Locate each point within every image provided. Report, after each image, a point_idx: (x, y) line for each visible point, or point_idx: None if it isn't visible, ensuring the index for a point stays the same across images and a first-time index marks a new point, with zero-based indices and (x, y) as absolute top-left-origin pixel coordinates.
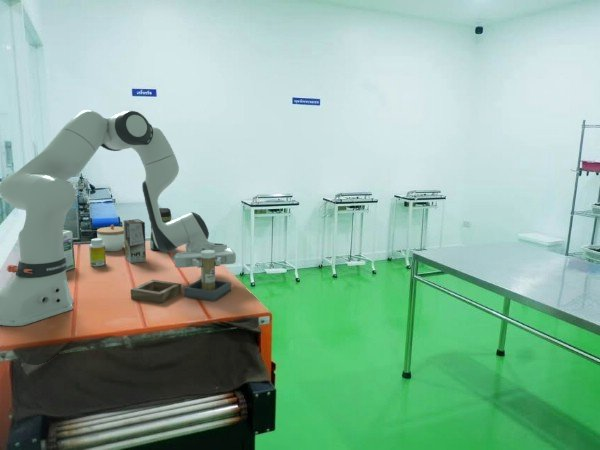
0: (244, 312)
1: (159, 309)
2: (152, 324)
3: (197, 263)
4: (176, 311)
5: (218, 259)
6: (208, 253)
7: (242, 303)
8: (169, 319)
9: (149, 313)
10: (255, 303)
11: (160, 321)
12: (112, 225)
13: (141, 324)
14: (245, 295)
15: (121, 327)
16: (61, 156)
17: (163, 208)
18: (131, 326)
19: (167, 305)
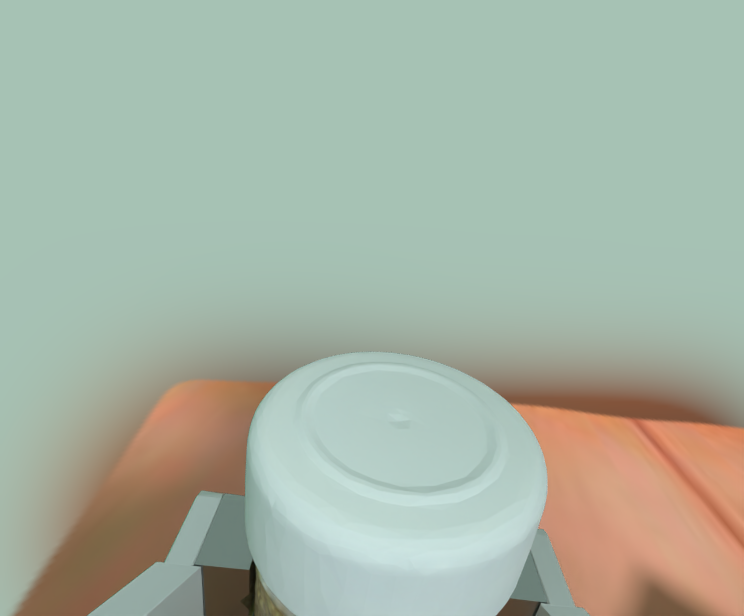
0: (255, 391)
1: (669, 556)
2: (616, 423)
3: (541, 540)
4: (558, 497)
5: (166, 569)
6: (407, 355)
7: (195, 469)
8: (565, 437)
9: (695, 522)
10: (134, 445)
11: (596, 434)
12: None
13: (661, 436)
14: (58, 591)
15: (725, 439)
16: None
17: None
18: (691, 434)
19: (649, 605)
